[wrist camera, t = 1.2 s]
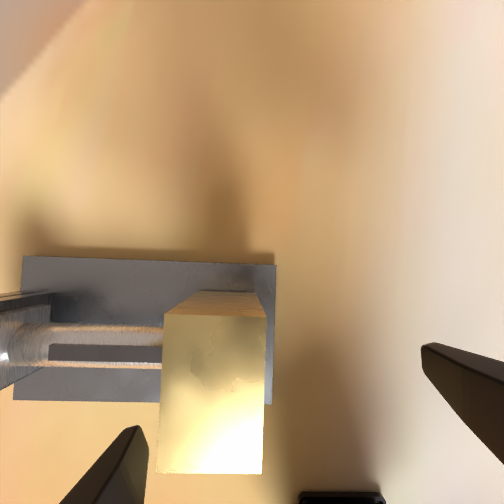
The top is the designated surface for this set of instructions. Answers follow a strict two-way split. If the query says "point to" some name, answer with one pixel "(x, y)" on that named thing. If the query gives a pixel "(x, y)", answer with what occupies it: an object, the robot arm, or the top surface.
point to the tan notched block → (212, 385)
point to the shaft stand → (108, 324)
